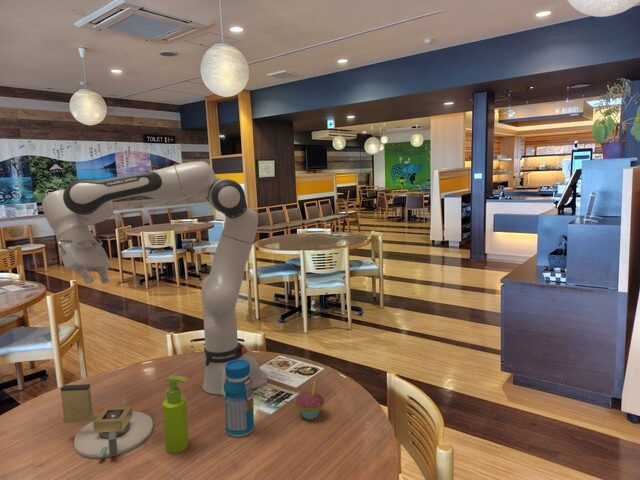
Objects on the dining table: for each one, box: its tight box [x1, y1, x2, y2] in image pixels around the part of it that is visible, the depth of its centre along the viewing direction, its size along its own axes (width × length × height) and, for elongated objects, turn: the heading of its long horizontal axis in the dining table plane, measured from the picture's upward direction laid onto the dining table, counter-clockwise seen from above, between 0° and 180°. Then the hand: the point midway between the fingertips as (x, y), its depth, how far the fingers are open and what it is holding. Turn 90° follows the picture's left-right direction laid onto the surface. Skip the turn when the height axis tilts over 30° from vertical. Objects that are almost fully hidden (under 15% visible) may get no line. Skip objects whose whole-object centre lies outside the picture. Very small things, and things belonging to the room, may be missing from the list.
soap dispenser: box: [162, 375, 189, 454], centre depth 114 cm, size 6×7×20 cm
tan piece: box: [60, 383, 133, 433], centre depth 119 cm, size 17×8×12 cm, turn 94°
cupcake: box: [295, 379, 325, 420], centre depth 129 cm, size 9×8×12 cm
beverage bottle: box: [223, 359, 255, 438], centre depth 122 cm, size 8×8×20 cm
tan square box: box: [99, 411, 130, 439], centre depth 120 cm, size 8×8×5 cm
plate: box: [73, 410, 154, 459], centre depth 119 cm, size 20×22×6 cm
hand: (98, 282), depth 125 cm, fingers open, 8 cm apart
